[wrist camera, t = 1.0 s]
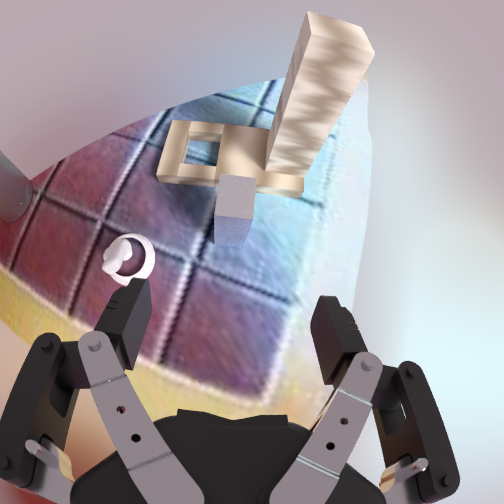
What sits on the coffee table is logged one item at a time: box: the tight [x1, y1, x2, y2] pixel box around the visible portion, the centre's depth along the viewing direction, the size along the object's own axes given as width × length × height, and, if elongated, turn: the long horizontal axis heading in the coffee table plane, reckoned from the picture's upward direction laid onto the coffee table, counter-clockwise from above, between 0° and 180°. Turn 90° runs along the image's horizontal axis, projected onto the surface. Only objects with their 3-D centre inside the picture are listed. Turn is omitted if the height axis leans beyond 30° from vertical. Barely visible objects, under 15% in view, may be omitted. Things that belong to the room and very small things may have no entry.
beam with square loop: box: [156, 11, 375, 199], centre depth 29 cm, size 22×11×26 cm, turn 85°
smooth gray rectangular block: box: [214, 174, 256, 248], centre depth 34 cm, size 4×5×11 cm
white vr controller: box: [102, 233, 155, 285], centre depth 33 cm, size 8×12×7 cm
